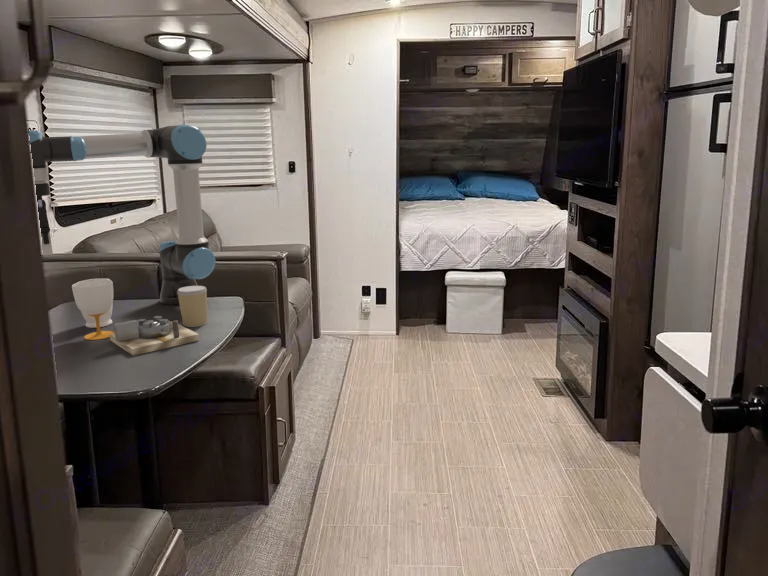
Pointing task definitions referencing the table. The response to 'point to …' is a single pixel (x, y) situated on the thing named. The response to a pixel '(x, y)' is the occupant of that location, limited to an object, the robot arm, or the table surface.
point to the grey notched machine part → (142, 329)
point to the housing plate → (158, 340)
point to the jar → (103, 318)
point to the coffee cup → (193, 305)
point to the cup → (94, 302)
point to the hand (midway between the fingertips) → (45, 252)
